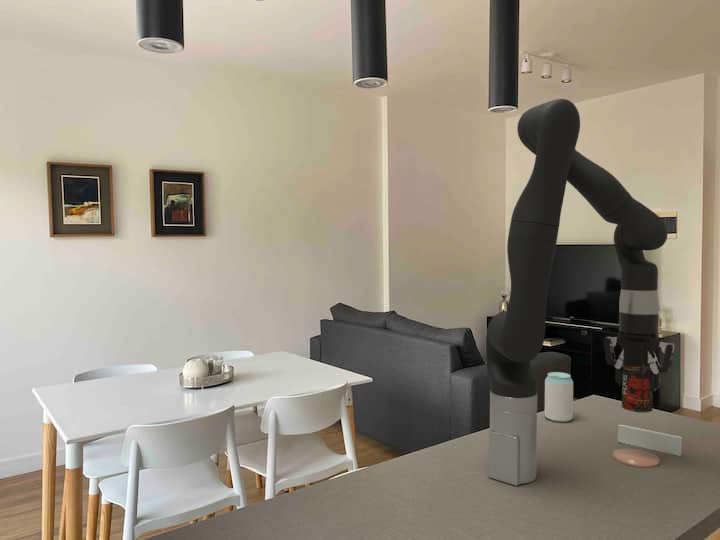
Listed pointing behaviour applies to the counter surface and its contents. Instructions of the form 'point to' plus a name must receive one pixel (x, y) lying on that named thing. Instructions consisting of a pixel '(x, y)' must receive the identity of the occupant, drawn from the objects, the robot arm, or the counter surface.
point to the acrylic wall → (650, 439)
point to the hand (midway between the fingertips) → (637, 387)
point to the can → (558, 397)
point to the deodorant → (636, 376)
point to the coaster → (636, 457)
